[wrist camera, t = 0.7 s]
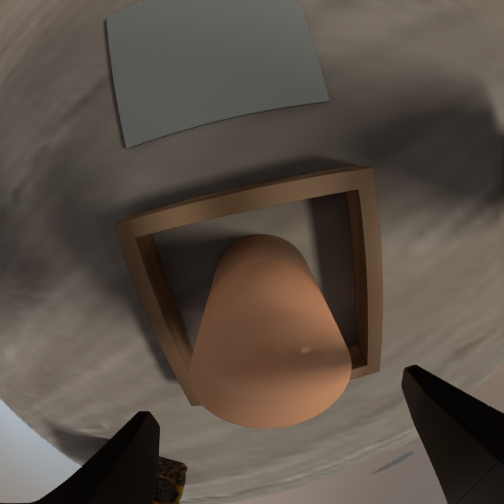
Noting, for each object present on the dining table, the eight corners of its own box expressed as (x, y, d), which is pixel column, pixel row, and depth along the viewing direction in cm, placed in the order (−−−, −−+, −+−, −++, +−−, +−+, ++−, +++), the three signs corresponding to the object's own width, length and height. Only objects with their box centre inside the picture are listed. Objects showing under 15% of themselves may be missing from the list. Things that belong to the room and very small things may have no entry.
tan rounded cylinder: (301, 225, 17) (349, 296, 8) (317, 333, 20) (349, 434, 11) (203, 246, 17) (164, 331, 9) (234, 349, 20) (228, 454, 11)
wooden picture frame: (356, 165, 16) (372, 167, 13) (368, 350, 20) (379, 371, 18) (131, 214, 17) (114, 224, 14) (196, 383, 21) (191, 405, 19)
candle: (107, 437, 25) (83, 502, 16) (188, 462, 26) (178, 531, 17) (112, 467, 28) (95, 519, 19) (178, 487, 29) (170, 542, 20)
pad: (286, -26, 11) (287, -29, 11) (327, 102, 14) (329, 101, 14) (108, 19, 12) (106, 17, 12) (129, 148, 15) (126, 148, 15)
